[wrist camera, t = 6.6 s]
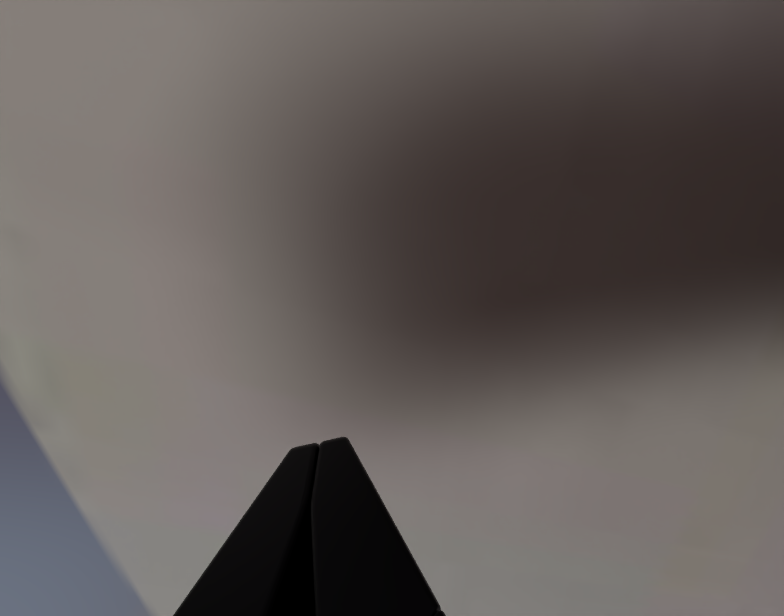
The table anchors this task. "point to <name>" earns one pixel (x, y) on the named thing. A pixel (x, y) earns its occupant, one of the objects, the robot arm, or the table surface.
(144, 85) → the table surface
